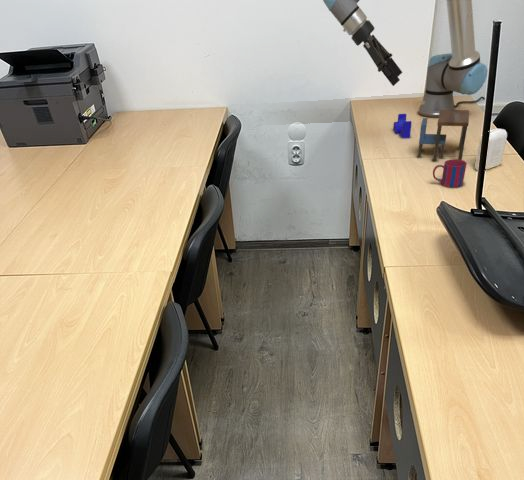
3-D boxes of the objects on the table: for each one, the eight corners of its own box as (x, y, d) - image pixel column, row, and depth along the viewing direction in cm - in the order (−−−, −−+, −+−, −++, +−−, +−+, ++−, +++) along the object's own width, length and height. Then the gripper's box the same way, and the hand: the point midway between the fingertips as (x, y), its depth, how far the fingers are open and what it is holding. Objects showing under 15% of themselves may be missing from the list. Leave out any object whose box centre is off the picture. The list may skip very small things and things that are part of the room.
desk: (432, 161, 187) (437, 122, 178) (434, 147, 198) (440, 109, 189) (461, 162, 184) (468, 122, 176) (462, 148, 195) (469, 110, 187)
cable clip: (393, 129, 218) (394, 114, 214) (404, 128, 218) (405, 113, 214) (398, 138, 209) (399, 122, 205) (409, 137, 208) (411, 122, 205)
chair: (417, 157, 191) (421, 124, 184) (419, 150, 197) (422, 118, 189) (442, 158, 188) (448, 125, 181) (443, 151, 194) (448, 118, 187)
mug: (464, 187, 167) (468, 166, 163) (432, 187, 169) (435, 166, 164) (461, 179, 172) (464, 158, 168) (429, 180, 174) (432, 159, 170)
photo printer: (492, 161, 183) (499, 124, 175) (502, 164, 180) (510, 127, 172) (472, 169, 179) (479, 131, 171) (482, 172, 176) (490, 134, 168)
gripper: (355, 32, 187) (391, 80, 193) (345, 42, 168) (386, 95, 174) (371, 14, 183) (408, 64, 188) (363, 23, 164) (404, 78, 170)
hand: (398, 79), depth 181 cm, fingers open, 13 cm apart
